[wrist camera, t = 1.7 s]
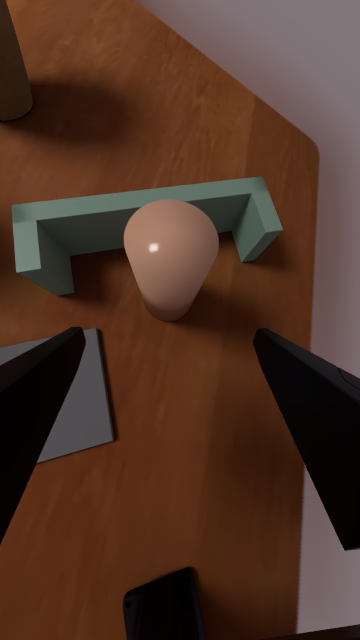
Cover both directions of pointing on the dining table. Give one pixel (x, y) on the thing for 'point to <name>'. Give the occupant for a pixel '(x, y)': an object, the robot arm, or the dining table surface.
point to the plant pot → (12, 71)
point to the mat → (77, 402)
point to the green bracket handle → (113, 215)
